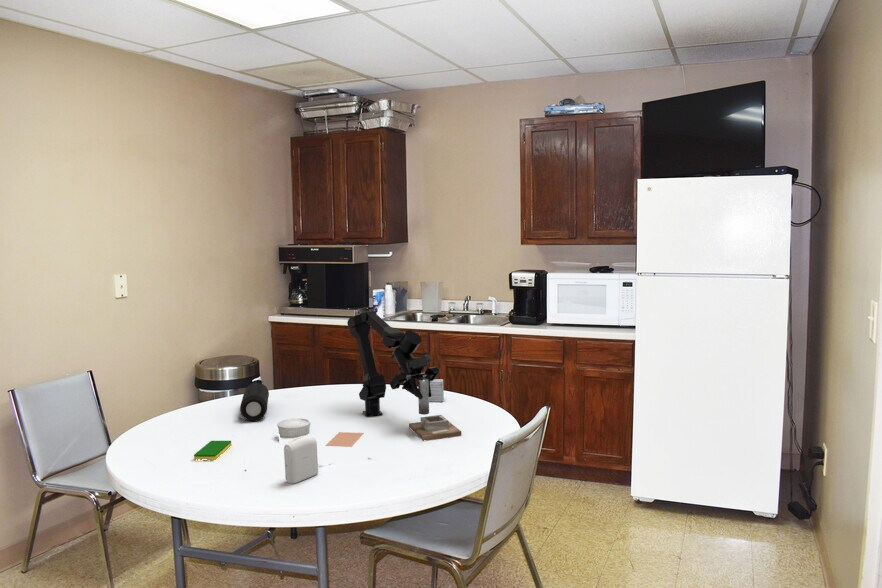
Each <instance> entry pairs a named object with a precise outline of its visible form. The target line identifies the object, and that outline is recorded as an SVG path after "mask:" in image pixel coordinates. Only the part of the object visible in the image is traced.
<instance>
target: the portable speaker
mask: <svg viewBox="0 0 882 588" xmlns="http://www.w3.org/2000/svg"><path fill="white" fill-rule="evenodd" d="M269 396H270V392H269V389H268V387H267V386H266V385H265V384H263V383H260V382H253V383H250V384H249V385H248V386H247V387H246V388H245V389H244V392H243V395H242V399H241V402H240V407H239V410H240V414H241V416H242V417H243V418H244V419H245V420H247V421H252V422H256V420H257V421H259V420H262V418H264V417H265V415H267V411H268V403H269Z"/></svg>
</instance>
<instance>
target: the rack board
mask: <svg viewBox="0 0 882 588" xmlns="http://www.w3.org/2000/svg"><path fill="white" fill-rule="evenodd" d="M408 427H410V428H411V429H412V430H413V431H414V432H415V433H416V434H417V435H418V438H420V439H421V440H422V442H425V441H424V440H426V441H431V440H439V439H446V438H447V437H448V438H452V437H453V438H454V436H455V437H461V435H462V430H460V429H459V428H458V427H457V426H456V425H454V424H452V422H450V421H449V419H448V418H446V417H445V416H443V414H437V415H430V416H429V415H428V416H423V417H422V416H421V417H420V421H417V422H409V423H408ZM410 428H409V429H410ZM411 429H410V430H411ZM412 430H411V431H412ZM413 431H412V432H413ZM414 432H413V433H414ZM415 433H414V434H415ZM416 434H415V435H416ZM417 435H416V436H417Z"/></svg>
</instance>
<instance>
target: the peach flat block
mask: <svg viewBox="0 0 882 588" xmlns="http://www.w3.org/2000/svg"><path fill="white" fill-rule="evenodd" d="M363 435H364V432H347V431H346V432H345V431H343V432H342V431H339V432H337V434H336V435H334V437H332V439H330V440H329V442H327V443H326V444H325V447H345V448H347V447H348V448H349V447H350V448H352V447H354V445H355V444H356V442H357V441H358V440H360V439H361V437H362V436H363Z"/></svg>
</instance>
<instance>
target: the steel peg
mask: <svg viewBox="0 0 882 588" xmlns="http://www.w3.org/2000/svg"><path fill="white" fill-rule="evenodd" d="M417 383H418V384H417V387H418V389H419V391H420V393H421V395H422V399H419V398H418V397H417V399H418V414H419V415H429V414H430V402H429V379H428V378H420V379H417Z"/></svg>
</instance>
